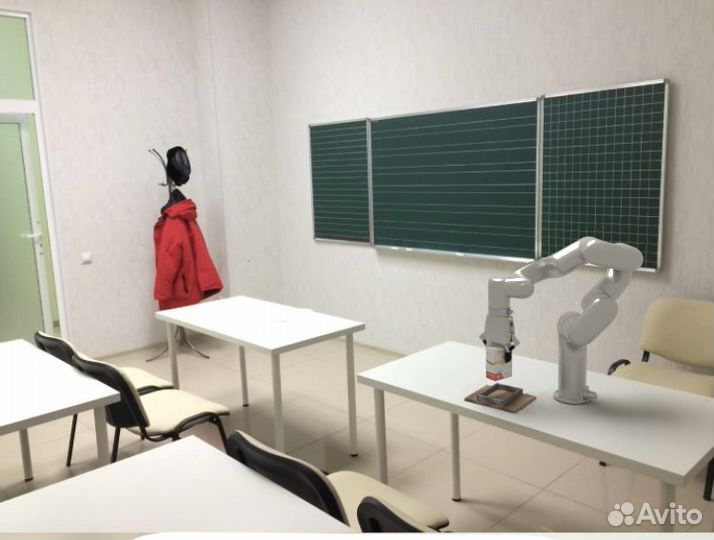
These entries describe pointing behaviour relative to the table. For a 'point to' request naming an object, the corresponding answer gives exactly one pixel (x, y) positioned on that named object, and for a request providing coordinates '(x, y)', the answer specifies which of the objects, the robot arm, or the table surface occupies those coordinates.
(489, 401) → the dock
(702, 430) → the table surface
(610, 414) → the table surface
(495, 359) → the ink cartridge box
